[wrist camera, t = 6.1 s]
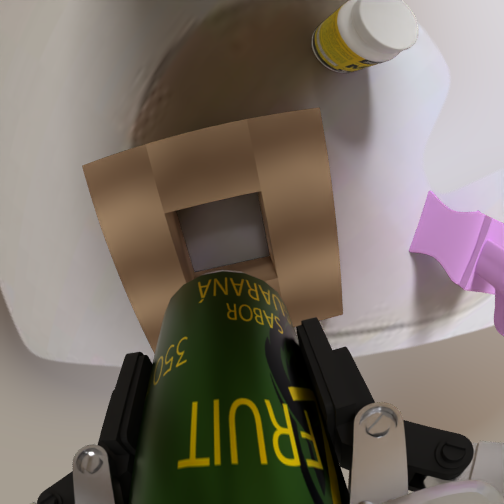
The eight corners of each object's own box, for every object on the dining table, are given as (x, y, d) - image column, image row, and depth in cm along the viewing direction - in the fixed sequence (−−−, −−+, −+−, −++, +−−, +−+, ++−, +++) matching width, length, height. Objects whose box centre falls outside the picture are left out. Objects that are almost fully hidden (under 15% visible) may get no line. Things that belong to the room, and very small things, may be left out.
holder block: (102, 158, 21) (82, 165, 18) (303, 109, 22) (319, 107, 18) (161, 326, 28) (154, 353, 24) (328, 290, 28) (342, 314, 24)
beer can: (263, 368, 15) (309, 600, 4) (158, 348, 14) (125, 600, 3) (302, 278, 13) (431, 568, 2) (178, 248, 12) (111, 610, 1)
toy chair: (459, 271, 29) (546, 347, 16) (405, 260, 28) (503, 355, 14) (484, 203, 26) (587, 259, 13) (431, 180, 25) (558, 238, 11)
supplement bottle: (332, 83, 21) (384, 68, 13) (298, 35, 19) (335, -2, 11) (375, 59, 20) (436, 41, 12) (344, 13, 18) (394, -23, 11)
